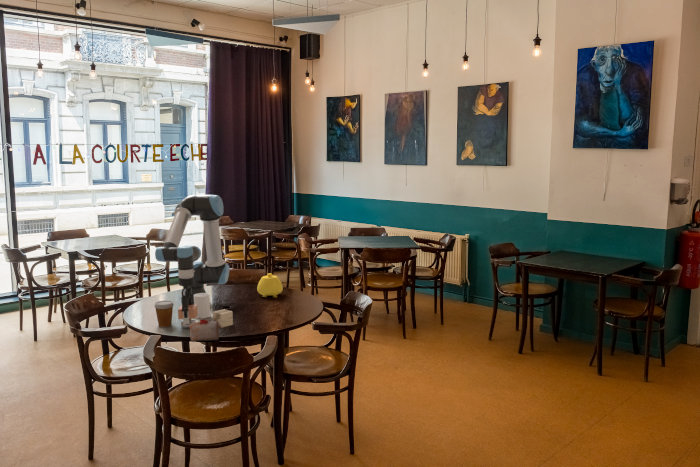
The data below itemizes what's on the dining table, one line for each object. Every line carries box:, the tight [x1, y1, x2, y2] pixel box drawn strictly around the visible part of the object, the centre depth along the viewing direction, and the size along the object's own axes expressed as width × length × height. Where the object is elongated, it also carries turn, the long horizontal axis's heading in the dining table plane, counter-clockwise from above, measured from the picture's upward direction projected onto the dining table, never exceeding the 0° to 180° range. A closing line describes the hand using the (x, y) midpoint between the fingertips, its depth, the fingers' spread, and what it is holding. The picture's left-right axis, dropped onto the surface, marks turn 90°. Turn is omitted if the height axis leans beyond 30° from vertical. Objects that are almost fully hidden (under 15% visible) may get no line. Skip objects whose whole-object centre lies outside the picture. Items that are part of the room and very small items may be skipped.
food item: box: [189, 318, 220, 342], centre depth 288 cm, size 14×8×10 cm, turn 98°
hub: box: [180, 307, 196, 330], centre depth 307 cm, size 7×7×10 cm
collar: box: [177, 304, 198, 320], centre depth 306 cm, size 8×8×5 cm
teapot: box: [256, 272, 284, 298], centre depth 373 cm, size 20×16×14 cm
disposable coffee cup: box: [153, 300, 175, 328], centre depth 310 cm, size 10×10×12 cm
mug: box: [194, 292, 211, 320], centre depth 328 cm, size 12×8×12 cm
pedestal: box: [212, 308, 234, 329], centre depth 311 cm, size 7×7×7 cm
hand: (188, 321), depth 307 cm, fingers closed on collar, 8 cm apart
